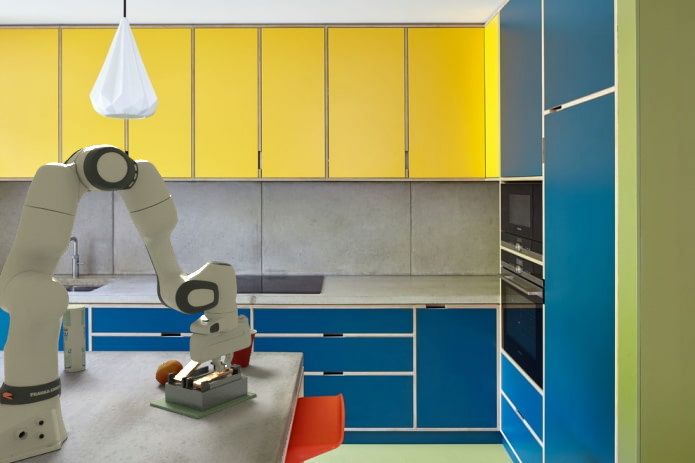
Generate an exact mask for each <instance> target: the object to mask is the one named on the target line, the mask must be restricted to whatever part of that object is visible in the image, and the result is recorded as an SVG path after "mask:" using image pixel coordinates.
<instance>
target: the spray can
mask: <svg viewBox="0 0 695 463" xmlns="http://www.w3.org/2000/svg"><path fill="white" fill-rule="evenodd" d="M62 327H63V328H62V331H63V333H62V336H63V361H64V362H63V363H64V365H63V366H64V368H63V369H64V371H65V372H68V373H69V372H70V373H73V372H82V371H84V370H86V365H87V364H86V361H87V360H86V358H87V357H86V307H85V305H83V304H71V305H69V304H68V308H67V310H66V312H65V313H64V314H63V319H62Z"/></svg>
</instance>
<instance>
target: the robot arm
mask: <svg viewBox="0 0 695 463" xmlns="http://www.w3.org/2000/svg"><path fill="white" fill-rule="evenodd" d="M87 192H94V193H106V192H116V193H117V194H118V195H119V196H120V197H121V199H122V200H123V201H124V204H125V207H126V210H127V211H128V214H129V216H130V218H131V220H132V222H133V224H134V226H135V229H137V231H138V233H139V235H140V237H141V239H142V241H143V243H144V246H145V248H146V252H147V254H148V256H149V258H150V259H149V260H150V261H151V264H152V267H153V270H154V272H155V274H156V275H155V276H156V293H157V297H158V300H159V302H160V303H161V304H162V306H164V307H165V308H168V309H172V310H175V311H177V312H180V313H182V314H185V315H186V314H187V315H196V314H199V313H203V312H204V314H203V315H201V316H200V317H199V318H198V319H196V320H195V321H193V322H192V323H191V324H190V327H189V330H190V332H191V333H192V334H191V336H190V339H189V357H190V359H191V361H193V362H197V363H202V364H203V363H206V362H209V361H211V362H212V361H213V363H214V365H215V369H216V372H218V373H220V372H223V371H224V370H228V369H230V365H231V364H230V363H231V361H232V358H233V352H235V351H238V350H241V349H244V348H247V347H249V346H250V345H251V332H250V329H251V327H250V324H249V318H248V317H247V316H246V315H245V314H240V315H239V314H238V313H239V312H238V309H239V308H238V305H237V295H238V286H237V285H238V283H237V276H236V271H235V268H234V267H233V265H232V264H230V263H228V262H221V261H215V260H214V261H213V260H211V261H207V262H205V263H204V265H203V266H202V267H200V268H199V269H197V270H195V271H194V272H193V273H191V274H187V273H186V272H184V271H183V270H182V268H181V267H180V265H179V263H178V260H177V257H176V255H175V252H174V249H173V246H172V243H171V235H172V233H173V231H174V230H175V228H176V226H177V225H178V224H177V223H178V220H179V217H178V213H177V209H176V204H175V202H174V199H173V197H172V194H171V193H170V190H169V188H168V186H167V184H166V182H165V180H164V179H163V177H162V175H161V173H160V172H159V170H158V169H157V167H156V166H155V165H154V164H153V163H152V162H151V161H148V160H143V159H139V160H137V159H136V160H134V159H133V158H131V157H130V156H129V154H127V153H126V152H124V150H123V149H120V147H117V146H115V145H111V144H101V145H100V144H92V145H89V146H86V147H82V148H79V149H78V150H76V151H75V152H73V153H72V154H71V155H70V156H69V157H68V158H67V159H66V160H65V161H64V162H63V163H60V162H59V163H58V162H49V163H44V164H42V165H41V166H39V168H38V169H37V170H36V172H35V174H34V176H33V177H32V181H31V183H30V184H29V188H28V190H27V192H26V195H25V200H24V203H23V207H22V211H21V215H20V220H19V223H18V228H17V231H16V235H15V238H14V241H13V244H12V246H11V248H10V251H9V254H8V255H7V258H6V260H5V262H4V265H3V266H2V268H1V269H2V270H1V272H0V309H1V310H2V311H3V312H5V313H7V314H9V327H8V333H7V339H6V342H5V344H4V347H3V372H4V373H3V376H4V381H3V382H2V385H1V386H0V463H14V462H18V461H20V460H24V459H28V458H32V457H35V456H39V455H42V454H43V455H44V454H46V453H49V452H53V451H57V450H60V449H61V448H62V444H63V442H64V441H66V439H67V438H68V437H69V436H68V435H69V434H68V431H67V429H66V426H65V423H64V417H63V413H62V406H61V394H62V381H61V380H62V378H61V375H60V374H59V340H60V335H61V334H60V333H61V328H62V325H63V314H64V313H65V312H66V310H67V308H68V306H69V304H70V297H69V292H68V290H67V289H66V287H65V286H64V284H63V283H62V282H61V281H60V280H59V279H57V278H56V277H55V276H54V275H55V272H56V270H57V268H58V265H59V263H60V262H61V260H62V258H63V256H64V255H65V254H66V252H67V251H68V249H69V248H70V247H69V246H70V242H71V238H72V233H73V229H74V225H75V220H76V216H77V212H78V206H79V203H80V201H81V198H82V197H83V196H84V195H85V193H87ZM223 356H224V357H225V358H224V361H223V363H222V365H221V363H220V361H222V357H223Z"/></svg>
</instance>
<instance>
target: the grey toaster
mask: <svg viewBox="0 0 695 463" xmlns="http://www.w3.org/2000/svg"><path fill="white" fill-rule="evenodd" d="M220 363H221V365H222V363H224V361H222V360H220ZM210 365H212V366H213V368H209V365H204V366H201V367H200V366H199V367H198V368H197V369H196V370H195V371H194V372H193V373H192V374H191V375H190V376H185V377H182V383H179V382H175V381H174V378H175V377H176V376H177V375H175V373H174V372H173V373H170V374H168V383H165V386H164V395H165V396H164V398H165V402H168V403H172V404H175V405H179V406H183V407H186V408H190V409H193V410H197V411H200V412H204V411H207V410H209V409H212V408H214V407H217V406H219V405H222V404H225V403H227V402H230V401H232V400H235V399H237V398H240V397H243V396H245V395H248V392H249V390H248V387H249V386H248V383H249V382H248V379H249V378H248V376H245V375H242V368H241V365H236V364H233V365H231V364H230V369H233V373H231V374H229V375H227V376H225V377H223V378H221V379H219V380H217V381H214V382H211V383H208V380H206V381H203V382H201V388H199V387H195V386H193V382H195V381H197V380H199V379H202V378H204V377H206V376H208V375H210V374H212V373H214V372H216V369H215V365H214V363H213V361H212V360H211V361H210Z"/></svg>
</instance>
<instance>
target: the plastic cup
mask: <svg viewBox="0 0 695 463" xmlns="http://www.w3.org/2000/svg"><path fill="white" fill-rule="evenodd" d="M250 332H251V345H250V346H249V347H247V348H244V349H241V350H238V351H235V352H233V358H232V361H231V363H230V365H233V364H236V365H241V369H243V368H247V367H249V365H250V362H251V355H252V351H253V347H254V346H253V345H254V341H255V337H256V334H257V332H258V331H257V329H254V328H250Z"/></svg>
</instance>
